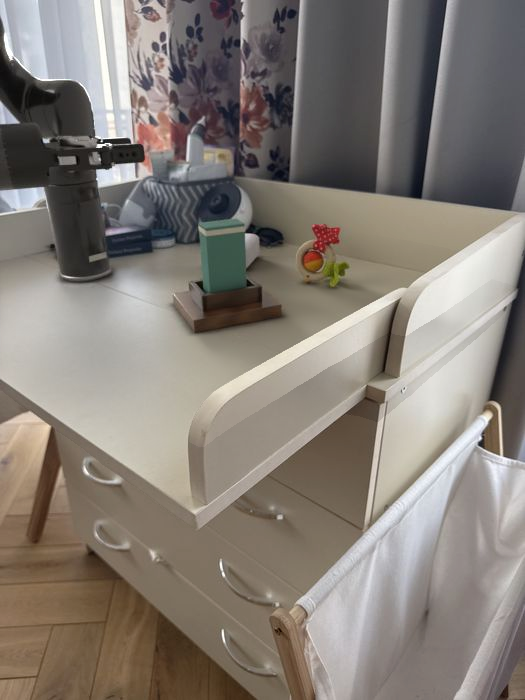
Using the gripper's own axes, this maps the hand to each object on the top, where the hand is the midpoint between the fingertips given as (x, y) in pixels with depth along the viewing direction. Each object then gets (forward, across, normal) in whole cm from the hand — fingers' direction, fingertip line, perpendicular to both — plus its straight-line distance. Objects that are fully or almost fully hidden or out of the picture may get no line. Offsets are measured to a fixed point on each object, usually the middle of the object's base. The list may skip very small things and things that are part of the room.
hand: (137, 148), depth 71 cm
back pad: (+11, 0, +23) cm, 26 cm away
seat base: (+11, 0, +25) cm, 27 cm away
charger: (+19, +21, +25) cm, 37 cm away
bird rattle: (+31, +4, +25) cm, 40 cm away
